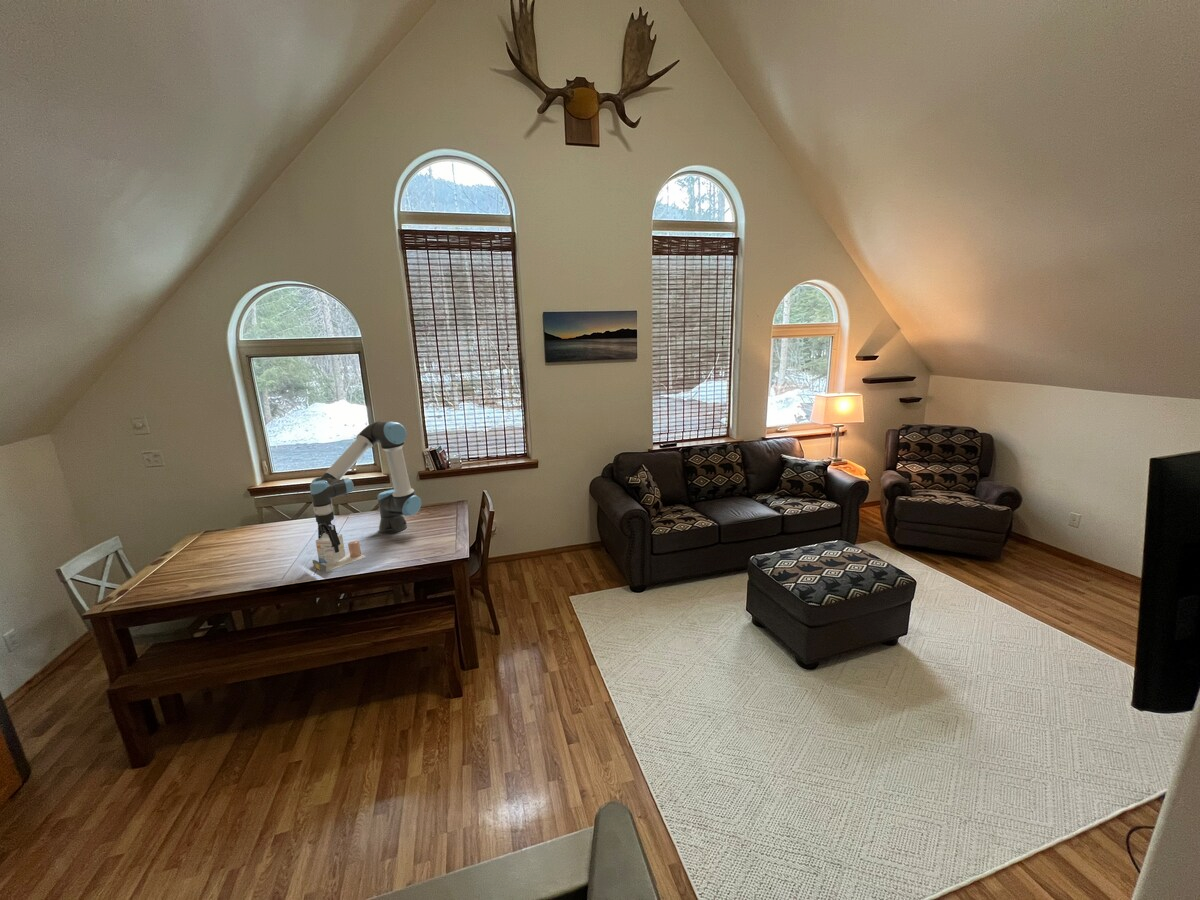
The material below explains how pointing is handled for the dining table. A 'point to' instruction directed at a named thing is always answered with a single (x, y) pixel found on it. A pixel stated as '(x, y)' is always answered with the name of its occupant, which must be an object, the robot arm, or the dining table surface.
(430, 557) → the dining table surface
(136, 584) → the dining table surface
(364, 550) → the dining table surface
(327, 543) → the ink box
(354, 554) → the tan glossy oval piece
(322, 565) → the shelf board
